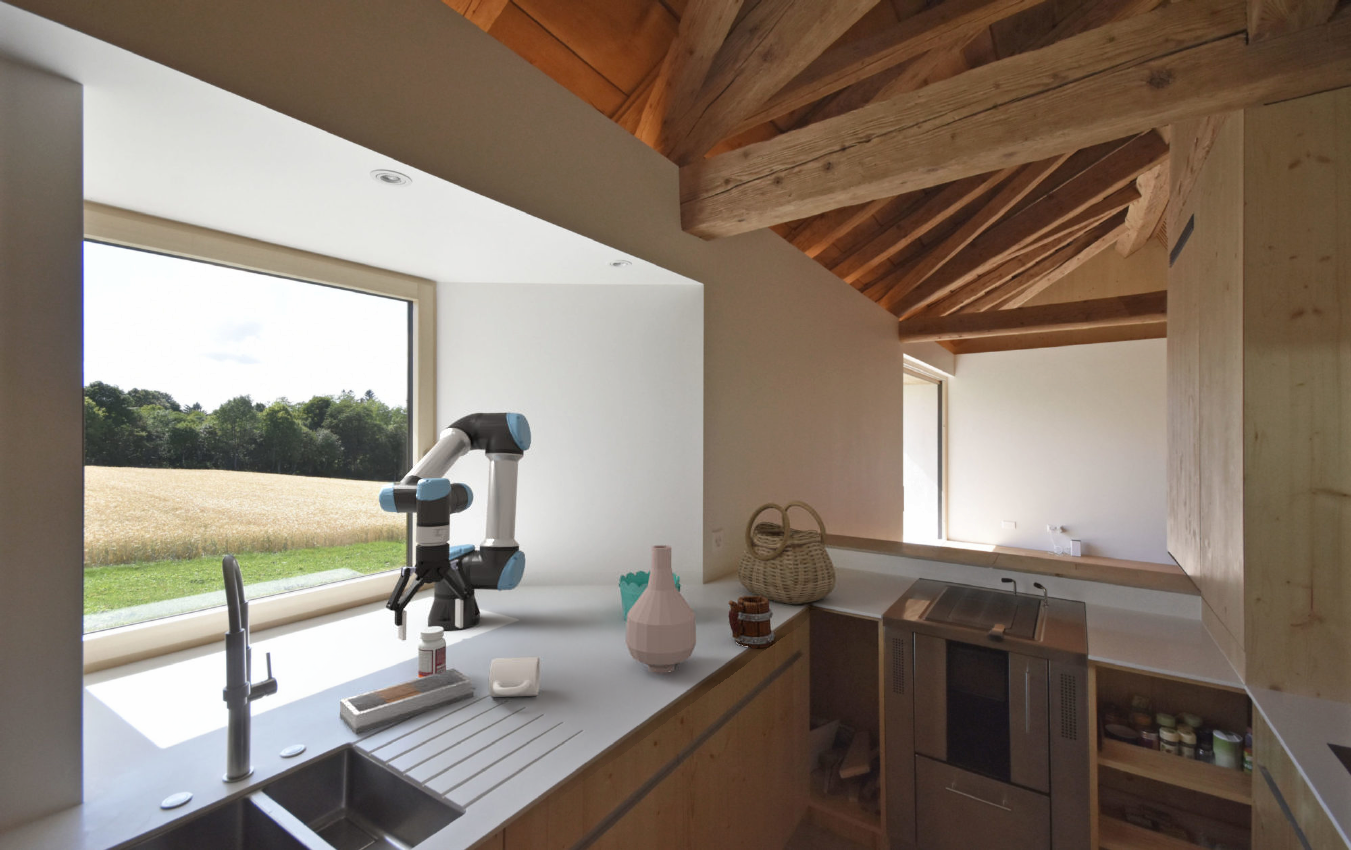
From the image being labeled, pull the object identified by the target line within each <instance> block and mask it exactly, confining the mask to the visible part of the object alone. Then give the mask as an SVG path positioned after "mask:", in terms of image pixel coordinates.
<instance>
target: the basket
mask: <svg viewBox="0 0 1351 850" xmlns="http://www.w3.org/2000/svg"><path fill="white" fill-rule="evenodd" d="M791 507H800V508H801V509H804V510H805V511H807V512H808V513H809V514H810V515H811V516H812V517H813V519H815V521H816V522H817V525H818V527H819V531H820V534H819V531H818V530H815V529H808V530H803V531H802V530H798V529H794V528H792V527H791V523H790V517H789V515H788V513H787V512H788V510H789V509H790V508H791ZM768 509H775V510H777V511H779V513H781V524H777V523H774V522H767V521H762V522H758V523H757V524H756V525H755V526H754V528H753V525H754V523H755V520H756V519H757V518H758V516H759V515H760V514H762V512H764V511H765V510H768ZM752 528H753V530H752ZM744 533H745V537H744V538H745V539H744V540H745V547H744V550H743V551H742V554H741V556H740V558H739V560H738V564H737V576H738V580H739V582H740V583H741V585H742V586H743V587H744V588H745V589H746V590H747V591H749V592H750V593H752V594H753V595H754V596H761V597H765V598H767V599H768V600H769V601H772V600H773V601H772V602H776V601H777V602H776V603H780V602H781V604H784V603H786V605H792V604H796V605H802V604H803V603H805V604H808V602H810V603H813V601H814V602H817V601H819V600H821V599H824V598H825V597H827V596H829V595H830V594H831V593H832V591H833V590H834V588H835V586H836V581H837V580H836V579H837V578H836V577H837V576H836V570H835V567H834V563H833V561H832V559H831V557H830V555H829V553H828V550H827V549H826V547H825V545H826V541H827V531H826V527H825V524H824V522H823V519H822V518H821V516H820V515H819V513H818V512H817V511H816V510H815V509H814V508H813V507H812V506H811V505H809V504H807V503H805V502H804V501H801V500H792V501H789V502H788V503H786V504H785V505H784V507H783V506H781V505H779V504H776V503H772V502H771V503H770V502H769V503H768V502H767V503H764V504H762V505H760V506H759V507H757V508H756V509H755V510H754V512H753V513H752V514H751V516H750V517H749V519H748V521H747V524H746V528H745V532H744ZM816 600H817V601H816ZM803 605H804V604H803Z"/></svg>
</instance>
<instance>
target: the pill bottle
mask: <svg viewBox="0 0 1351 850" xmlns="http://www.w3.org/2000/svg"><path fill="white" fill-rule="evenodd" d="M444 631H445V630H444V629H443V627H439V626H432V627H428V626H427V627H424V628H422V629H420V641H419V643H418V646H417V647H418V648H417V649H418V651H417V653H418V654H417V656H418V658H417V659H418V660H417V661H418V662H417V663H418V664H417V667H418V669H417V671H418V672H417V674H418V677H417V678H421V677H424V676H428V675H432V674H435V673H439V672H442V671H446V670H447V641H446V639H445V638H444V636H445V635H444V633H445V632H444Z"/></svg>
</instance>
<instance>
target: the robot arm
mask: <svg viewBox="0 0 1351 850" xmlns="http://www.w3.org/2000/svg"><path fill="white" fill-rule="evenodd" d="M531 443H532V434H531V427H530V424H529V421H528V419H527V417H526V416H525V415H524V414H522V413H518V412H517V413H516V412H474V413H470V414H467V415H465V416H462V417H460V418H459V419H457V420H455V421H454V422H453V423H451V424H450V425H449V426H448V427H446V428H445V429H444V430H443V431H442V432H441V433H440V436H439V440H438V442H436V444H435V445H433V447H431V449H430V450H428V452H426V454H425V455H424V456H423V457H422V458H421V459H420V460H419V461H418V462H417V463H416V464H415V466H413V467H412V469H411V470H410V471H409V472H408V473H407V474H406V475H405V476H404V477H403V478H402V479H401V480H400V481H399V482H392V483H386V484H384V485H383V486H382V487H381V488H380V491H379V495H378V501H379V502H378V503H379V506H380V508H381V509H382V511H384V512H387V513H396V514H403V513H405V514H407V513H408V514H410V513H411V514H412V513H414V514H416V522H415V524H416V525H415V527H416V528H415V531H416V532H415V542H416V543H417V545H416V546H415V565H414V566H405V565H403V566H402V567H401V571H400V576H399V578H398V580H397V582H396V585H395V586H394V589H393V591H392V593H391V594H390V597H389V598H388V600H387V602H386V605H385V608H386V609H387V610H389V611H392V612H394V625H395V626H397V627H398V631H397V632H398V637H397V639H399V640H401V641H403V642H404V641H407V621H408V620H407V619H408V617H407V616H408V615H407V614H408V613H407V611H406V610H404V609H405V608H406V607H407V605H408V604H409V603H410V602H411V600H412V599H413V598H414V596H416V594H417V592H418V591H419V590H420V589H421V588H422V587H423V586H424V585H425V584H426V585H429V584H432V583H434V584H433V585H434V586H433V588H434V589H433V591H434V596H433V601H432V603H431V607H430V610H429V614H428V617H427V627H432V626H439V627H443V629H444V631H455V630H463V629H467V628H470V627H474V626H476V625H478V623H480V622H481V612H480V607H479V605H478V602H477V599H476V594H475V593H476V592H475V590H487V591H488V590H489V591H492V590H493V591H499V592H501V591H511V590H514V589H516V588H517V587H518V586H519V584H520V583H521V581H522V578H523V576H524V572H525V567H526V554H525V552H524V551H522V550H520V544H519V543H518V542H517V540H516V539H515V538H516V537H515V535H516V533H515V532H516V517H517V515H516V514H517V494H518V474H519V472H518V471H519V461H520V460H521V459H522V458H523V457H524V456H525V455H524V452H525V451H528V450H529V449H530V448H531ZM476 450H480V451H484V455H485V457H486V458H487V459H488V461H489V467H488V468H489V470H488V485H487V486H488V487H487V503H486V504H487V506H486V507H487V508H486V524H485V539H484V540H483V541H482V542H481V543H480V544H479V549H476V546H475V545H474V544H470V543H469V544H459V545H453V546H450V545H451V544H450V543H449V541H450V540H451V538H450V537H451V536H450V533H451V532H450V531H451V529H450V527H451V515H452V514H460V513H463V512H464V511H466V510H467V509H469V508H470V507H471V505H472V504H473V502H474V492H473V490H472V488H471V487H470V486H469V485H467V484H466V483H462V482H452V483H451V481H450V479H449V478H446V477H445V475H446V474H447V472H448V471H449V470H450V469H451V468H452V466H454V464H455V463H456V461H458V460H459V459H460V457H463V456H466V455H467V454H468V453H469V452H470V451H476ZM444 477H445V478H444ZM414 573H415V575H416V576H415V578H414V579H413V580H412V583H411V584H410V585H409V587H408V588H407V590H406V591H405V589H406V587H407V585H408V583H409V581H410V577H413V574H414ZM404 591H405V592H404Z"/></svg>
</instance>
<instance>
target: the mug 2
mask: <svg viewBox="0 0 1351 850" xmlns="http://www.w3.org/2000/svg"><path fill="white" fill-rule="evenodd" d="M728 604H729V606H730V610H729V611H728V623H729V626H730V630H731V632H732V633H731V635H732V636H731V637H732V638H733V639H734V640H735V641H736V642H737V643H738V644H741V645H743V646H748V647H749V648H748V649H758V648H759V649H762V648H767V647H770V646H771V645H772V644H773V641H774V640H775V637H776V635H775V632H774V631H773V630H772V626H771V619H772V617H773V615H774V612H773V611H772V609H771V608H770V600H769V599H767V598H765V597H761V596H758V595H743V596H740V597H738V599H737V602H736V601H734V600H729V601H728ZM735 641H734V642H735ZM736 642H735V643H736ZM738 644H737V645H738ZM741 645H740V646H741ZM743 646H742V647H743Z"/></svg>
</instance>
